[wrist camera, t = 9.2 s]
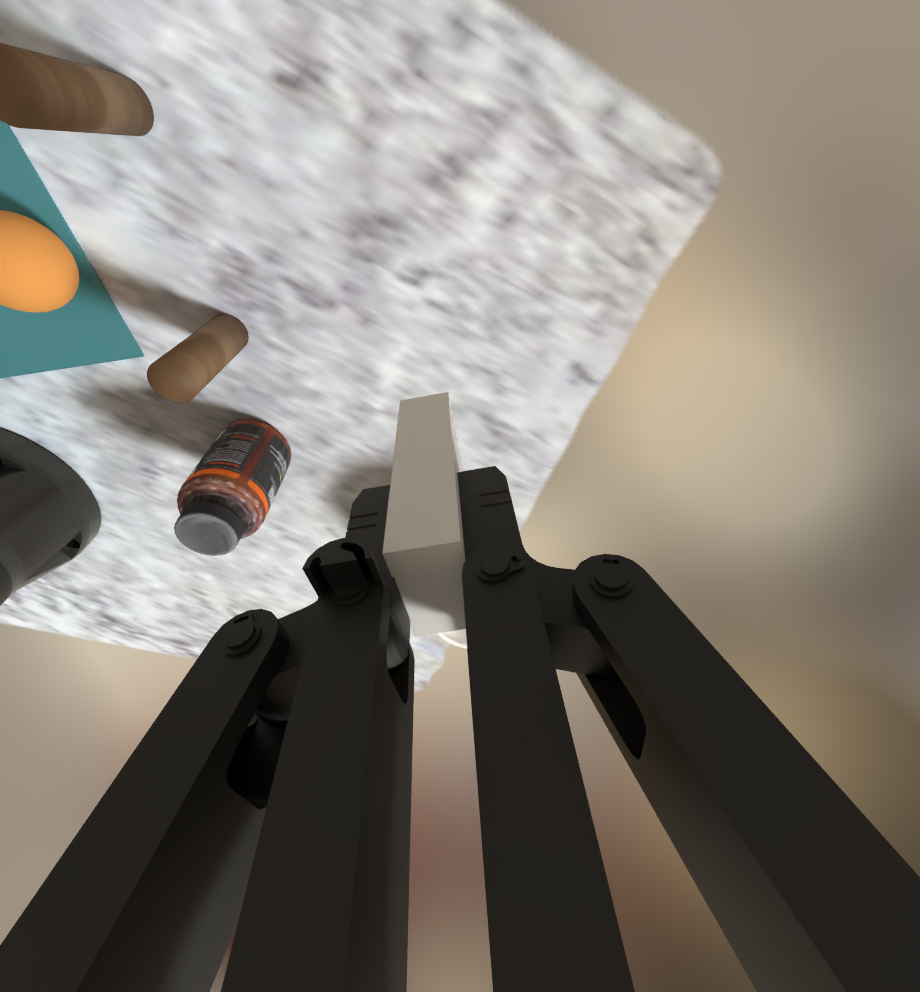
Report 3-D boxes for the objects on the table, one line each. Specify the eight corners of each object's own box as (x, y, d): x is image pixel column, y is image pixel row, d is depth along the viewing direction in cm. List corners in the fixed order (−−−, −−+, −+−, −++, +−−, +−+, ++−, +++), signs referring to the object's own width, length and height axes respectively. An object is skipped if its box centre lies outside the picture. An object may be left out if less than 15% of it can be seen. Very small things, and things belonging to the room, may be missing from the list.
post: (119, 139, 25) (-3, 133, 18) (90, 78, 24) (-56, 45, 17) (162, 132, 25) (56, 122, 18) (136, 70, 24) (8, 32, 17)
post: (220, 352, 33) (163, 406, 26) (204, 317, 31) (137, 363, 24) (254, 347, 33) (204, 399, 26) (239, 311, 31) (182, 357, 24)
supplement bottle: (206, 431, 37) (134, 518, 28) (265, 406, 36) (209, 488, 27) (251, 483, 41) (200, 575, 32) (306, 462, 39) (269, 551, 31)
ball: (106, 302, 28) (91, 295, 31) (45, 199, 25) (35, 203, 28) (0, 329, 25) (-4, 318, 29) (-85, 218, 22) (-78, 220, 25)
